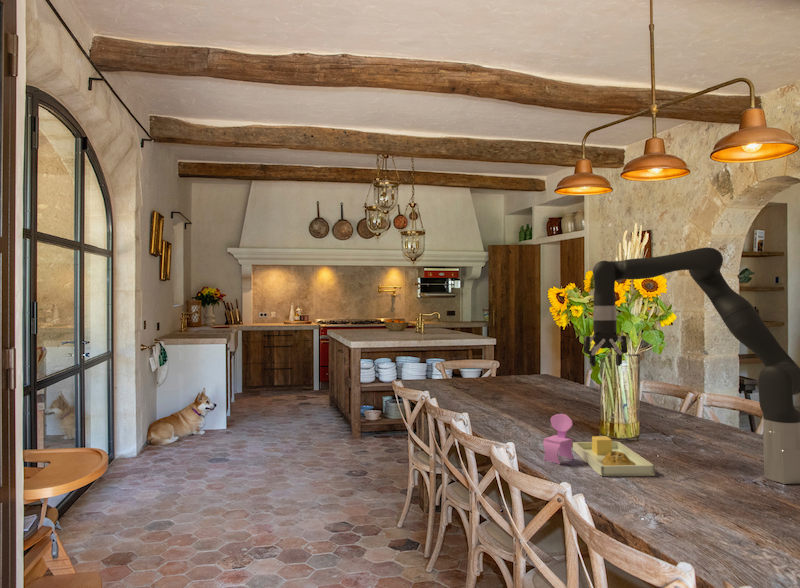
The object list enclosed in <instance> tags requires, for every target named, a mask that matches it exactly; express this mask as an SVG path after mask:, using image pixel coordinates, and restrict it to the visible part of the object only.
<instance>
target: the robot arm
mask: <svg viewBox="0 0 800 588" xmlns="http://www.w3.org/2000/svg"><path fill="white" fill-rule="evenodd" d="M723 263H724V256H723V254H722V253H721V251H719V250H718V249H716V248H713V247H710V246H709V247H708V246H707V247H706V246H705V247H700V248H696V249H695V248H694V249H691V250H686V251H682V252H677V253H671V254H666V255H665V254H664V255H660V256H654V257H653V256H651V257H641V258H639V257H638V258H629V259H625V260H614V261H613V260H612V261H610V260H601V261H598V262H597V263H596V264H594V267H593V269H592V274H593V288H594V291H593V309H592V311H593V312H592V317H593V318H592V321H593V322H592V323H593V335H592V336H590V335H589V336H588V335H584V337H583V353H584V354H587V355H589V365H591V367H596V366H597V365H596V355H595V354H597V352H598V351H599V350H600V349H612V350H613V351H614V352H615V366H617V367H621V365H622V364H623V355H624V354H627V353H628V351H629V350H628V341H627V336H626V335H618V333H617V326H618V325H617V323H618V321H617V318H618V316H617V308H616V293H615V287H616V281H620V280H645V279H646V280H647V279H651V278H656V277H660V276H662V275H666V274H669V273H673V272H677V271H688V273H689V275H690V277H691V278H692V280H693V281H694V282H695V283H696V284H697V285H698V287H699V289H701V290H702V291H703V293H704V294H705V295H706V297H707V298H708V299H709V300H710V302H711V303H712V305H713V307H714V308H715V310H716V312H717V313H718V315H719V316H720V318H721V319H722V320H721V321H723V323H724V325H725V326H726V327H727V329H728V330H729V332H730V333H731V335H733V337H734V338H735V339H736V340H737V341H738V342H740V343H741V344H742V345H743V346H745V347H746V348H747V349H749V350H750V351H751V352H752V353H754V354H755V356H756V357H758V358H759V359H760V361H761V362H762V363H763V365H764V368H763V369H761V370H760V373H759V374H758V380H757V382H758V383H757V384H758V385H757V387H758V389H757V390H758V399H759V401H758V402H759V403H758V404H759V408H760V410H761V412H762V419H763V420H762V423H763V424H762V427H763V428H762V430H763V431H762V432H763V435H762V436H763V438H762V439H763V470H764V471H763V474H764V477H765V478H766V479H767V480H769V481H773V482H777V483H780V484H783V485H786V484H787V485H790V484H798V485H799V484H800V410H799V409H797V408H795V406H794V398H793V397H794V396H795V395H798V394H800V366H799V365H798V364H797V363H796V362H795V361H794V360H793V359H792V357H791V356H790V355H789V354H788V353H787V351H786V350H784V348H783V347H782V346H781V345H780V343H779V342H778V340H777V339H776V337H775V336H774V334H773V333H772V332H771V330H770V329H769V327H767V324H765V322H764V321H763V319H762V318H761V316H760V315H759V313H758V312H757V310H756V309H755V307H754V306H753V304H751V303H750V302H749V300H747V299H746V298H745V297H743V296H742V295H740V294H739V293H737V292H736V291H734V290H733V289H732V288H731V286H729V284H728V283H727V281H726V280H725V277H724V276H723V273H721V268H722V265H723ZM592 341H593V342H594V344H593V345H592V346H591V349H590V345H591V343H592ZM617 341H618V342H620V348H619V346H618V345H617Z"/></svg>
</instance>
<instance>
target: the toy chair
mask: <svg viewBox="0 0 800 588" xmlns="http://www.w3.org/2000/svg"><path fill="white" fill-rule="evenodd" d="M550 424H551V427H552V428H553V429H554V430H556V431H557V434H554V435H551V436H549V437H545V438H543V442H542V444H543V450H544V459H543V461H544V460H548V461H551V462H555V463H558V464H561V462H560V460H559V456H558V455H560V456H564V457H568V458H572V459H575V457H574V455H573V453H572V448H573V439H572V438H570V437H567V434H568V433H567V432H569V430H570V429H572V427H573V420H572V419H571V418H570V417H569V416H568V415H567V414H565V413H556V414H554V415H551V417H550ZM558 464H557V465H558Z"/></svg>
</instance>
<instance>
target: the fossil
mask: <svg viewBox="0 0 800 588" xmlns="http://www.w3.org/2000/svg"><path fill="white" fill-rule="evenodd" d="M602 463H603V466H617V465H636V464H635V463H634V462H633V461H631V460H630V459H629V458H628V457H627V456H626V455H625V454H624V453H621V452H616V451H612V452H609V453H608V454H607V455H606V456H605V457H604V459H602Z"/></svg>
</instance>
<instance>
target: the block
mask: <svg viewBox="0 0 800 588" xmlns="http://www.w3.org/2000/svg"><path fill="white" fill-rule="evenodd" d="M591 442H592V451H593V452H594V453H595V454H597V455H607V454H608V453H609V452H612V442H613V439H611V438H610V437H609V436H607V435H605V436H604V435H603V436H601V435H597V436H591Z"/></svg>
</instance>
